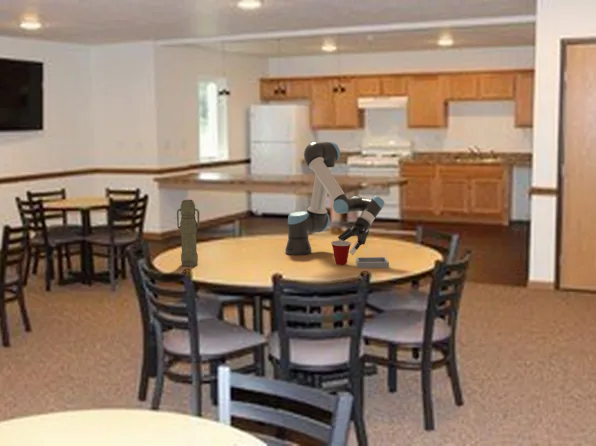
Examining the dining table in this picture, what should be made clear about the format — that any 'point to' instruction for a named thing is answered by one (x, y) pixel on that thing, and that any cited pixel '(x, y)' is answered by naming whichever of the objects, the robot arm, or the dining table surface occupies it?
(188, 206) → the thermos
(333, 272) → the dining table surface
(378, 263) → the tray
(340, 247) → the plastic cup
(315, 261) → the dining table surface
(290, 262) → the dining table surface
